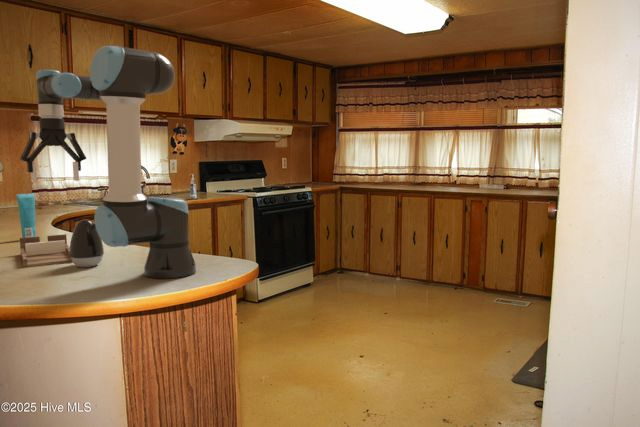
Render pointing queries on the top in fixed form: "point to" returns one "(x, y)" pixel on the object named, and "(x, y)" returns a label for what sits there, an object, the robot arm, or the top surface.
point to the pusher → (45, 247)
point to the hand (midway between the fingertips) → (55, 181)
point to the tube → (27, 214)
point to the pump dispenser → (86, 245)
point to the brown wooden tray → (44, 258)
